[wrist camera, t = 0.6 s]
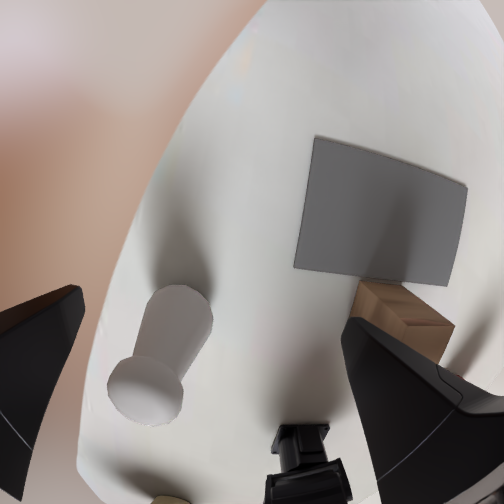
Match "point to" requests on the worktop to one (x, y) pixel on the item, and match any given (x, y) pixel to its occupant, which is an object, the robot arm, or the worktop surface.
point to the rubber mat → (378, 218)
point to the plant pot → (168, 500)
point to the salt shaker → (161, 356)
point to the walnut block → (403, 317)
